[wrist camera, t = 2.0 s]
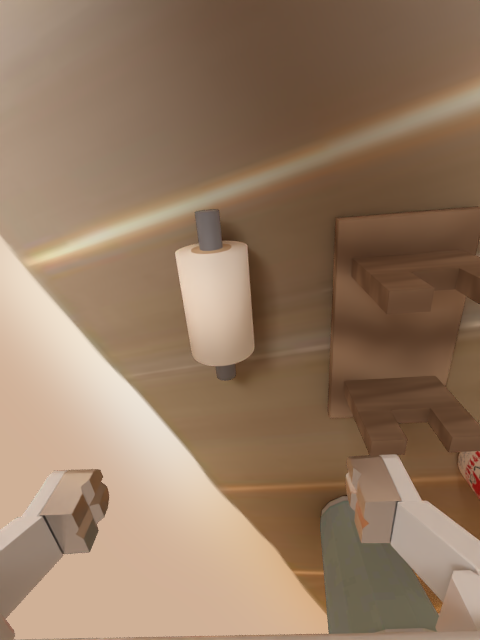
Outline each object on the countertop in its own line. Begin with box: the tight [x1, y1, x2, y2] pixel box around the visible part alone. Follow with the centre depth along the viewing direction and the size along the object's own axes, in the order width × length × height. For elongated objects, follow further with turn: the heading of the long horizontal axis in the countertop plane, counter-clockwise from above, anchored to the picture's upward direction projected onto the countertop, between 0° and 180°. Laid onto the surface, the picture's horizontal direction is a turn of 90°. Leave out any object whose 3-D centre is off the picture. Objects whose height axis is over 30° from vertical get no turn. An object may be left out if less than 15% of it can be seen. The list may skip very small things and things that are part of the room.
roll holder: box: [328, 207, 480, 455], centre depth 24 cm, size 18×10×8 cm, turn 5°
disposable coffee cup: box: [320, 496, 439, 634], centre depth 31 cm, size 11×11×15 cm
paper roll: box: [175, 209, 255, 381], centre depth 25 cm, size 13×5×5 cm, turn 5°
